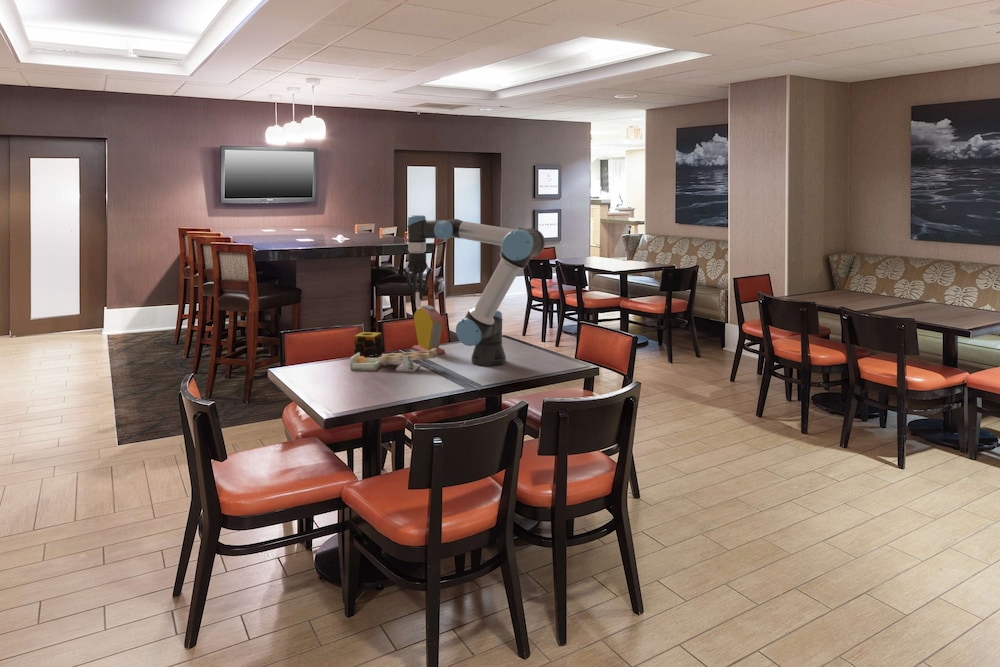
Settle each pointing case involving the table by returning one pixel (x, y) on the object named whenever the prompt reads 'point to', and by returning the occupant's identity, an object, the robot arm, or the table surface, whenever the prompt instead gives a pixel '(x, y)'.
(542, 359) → the table surface
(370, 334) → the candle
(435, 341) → the pink yellow-faced device
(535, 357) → the table surface
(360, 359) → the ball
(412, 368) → the fulcrum
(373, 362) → the tray
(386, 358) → the beige piece
